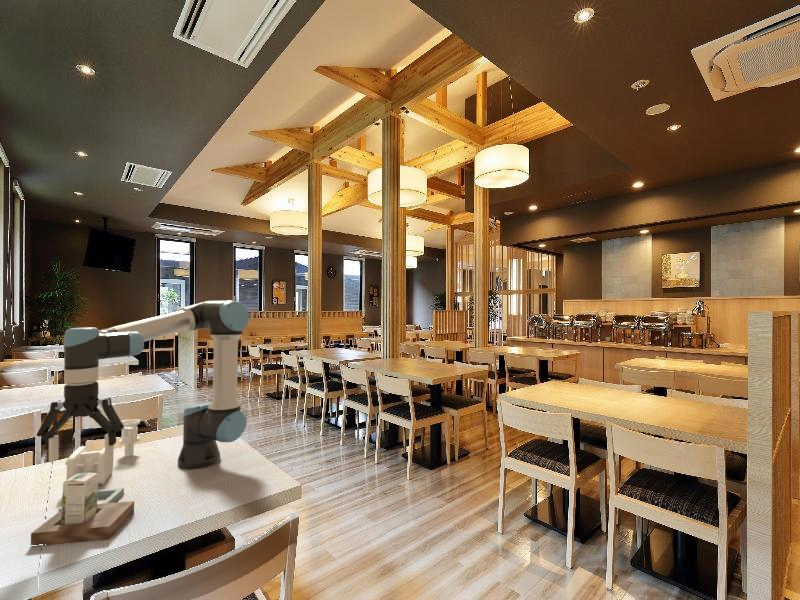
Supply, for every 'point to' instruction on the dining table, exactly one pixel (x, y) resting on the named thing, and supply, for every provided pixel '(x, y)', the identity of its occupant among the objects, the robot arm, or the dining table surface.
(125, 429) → the white upright piece
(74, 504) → the syrup box
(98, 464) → the cable organizer
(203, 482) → the dining table surface
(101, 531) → the socket board
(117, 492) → the green square frame
